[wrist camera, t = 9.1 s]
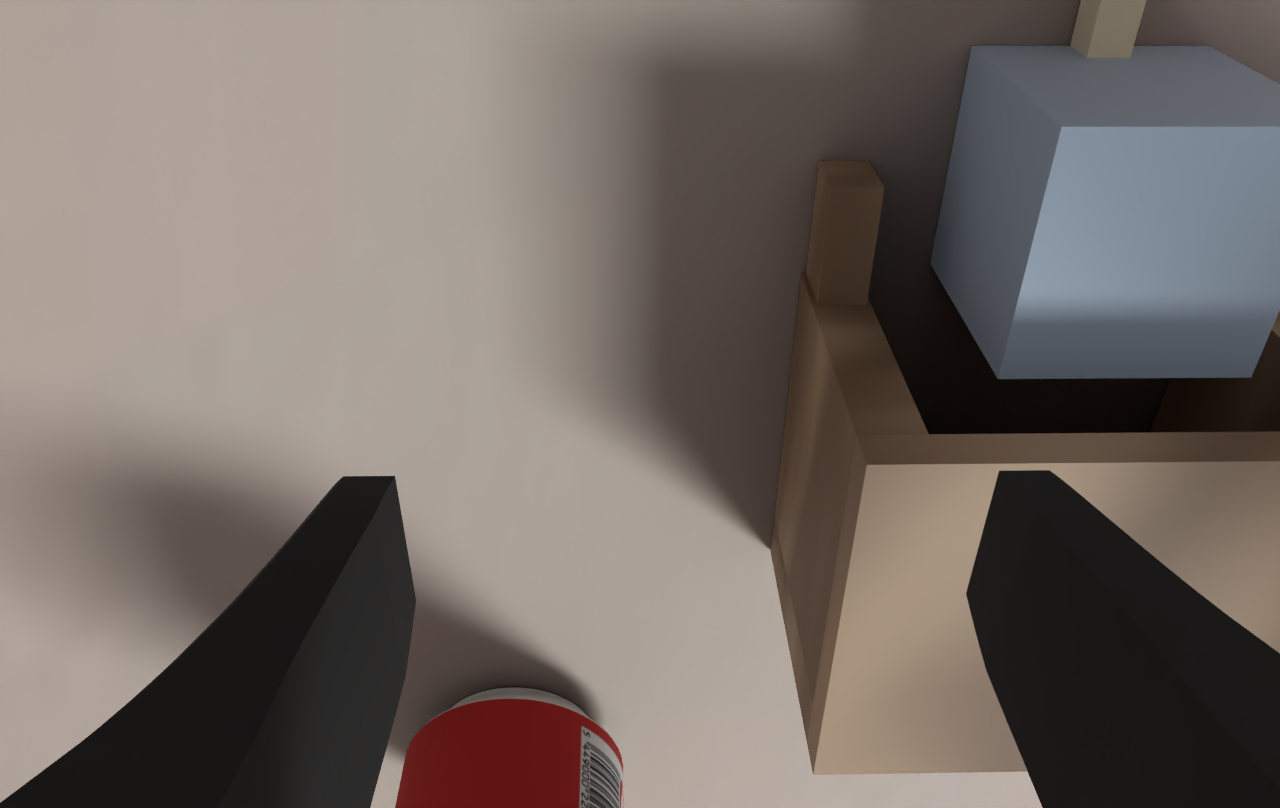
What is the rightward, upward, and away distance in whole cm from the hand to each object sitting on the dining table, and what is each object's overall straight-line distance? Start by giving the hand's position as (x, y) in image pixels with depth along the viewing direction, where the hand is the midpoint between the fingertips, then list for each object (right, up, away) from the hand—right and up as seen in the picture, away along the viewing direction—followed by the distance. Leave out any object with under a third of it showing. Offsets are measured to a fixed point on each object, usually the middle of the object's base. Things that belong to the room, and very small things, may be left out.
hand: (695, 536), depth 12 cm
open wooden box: (+8, +2, +11) cm, 13 cm away
